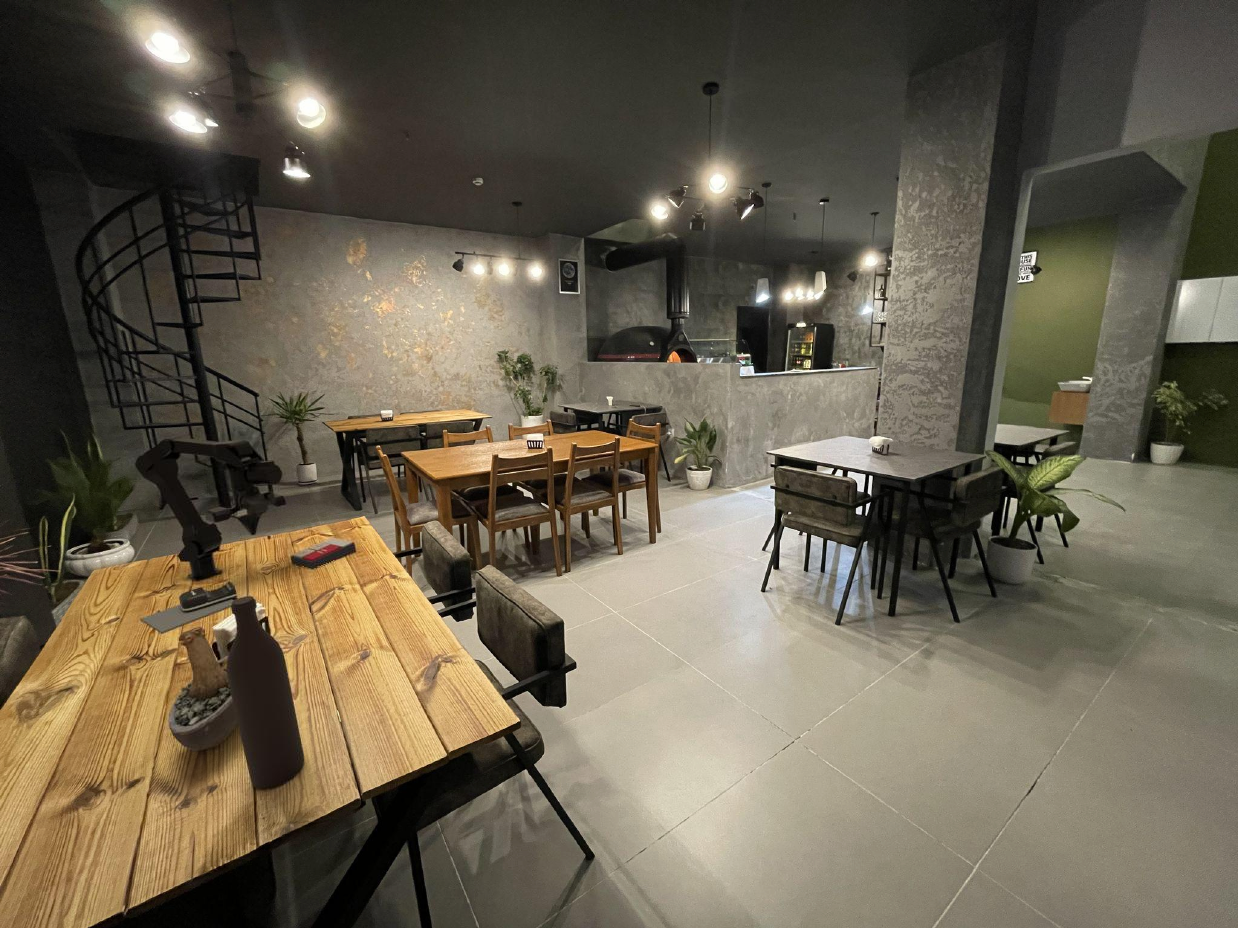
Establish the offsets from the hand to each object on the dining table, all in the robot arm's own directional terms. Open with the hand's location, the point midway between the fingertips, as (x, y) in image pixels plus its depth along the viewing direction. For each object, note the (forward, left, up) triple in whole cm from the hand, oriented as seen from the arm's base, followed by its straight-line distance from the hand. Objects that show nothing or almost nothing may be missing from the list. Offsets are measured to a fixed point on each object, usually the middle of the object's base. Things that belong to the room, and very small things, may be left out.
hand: (253, 534), depth 145 cm
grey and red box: (+4, +17, -14) cm, 22 cm away
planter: (+64, -36, -13) cm, 75 cm away
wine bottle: (+83, -36, -13) cm, 91 cm away
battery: (+8, -10, -11) cm, 16 cm away
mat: (+7, -20, -13) cm, 25 cm away
